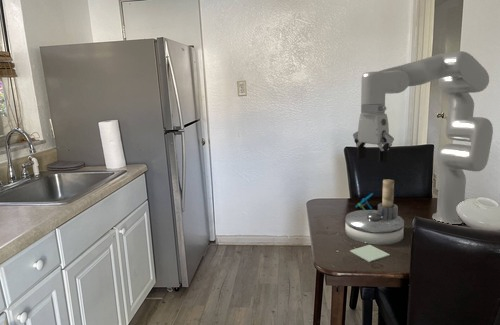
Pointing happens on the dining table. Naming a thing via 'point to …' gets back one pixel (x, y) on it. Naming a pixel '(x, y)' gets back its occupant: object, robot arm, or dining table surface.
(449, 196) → the robot arm
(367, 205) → the teal angled piece
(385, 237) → the chuck base
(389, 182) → the beige cylinder
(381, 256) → the mat
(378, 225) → the chuck collar
